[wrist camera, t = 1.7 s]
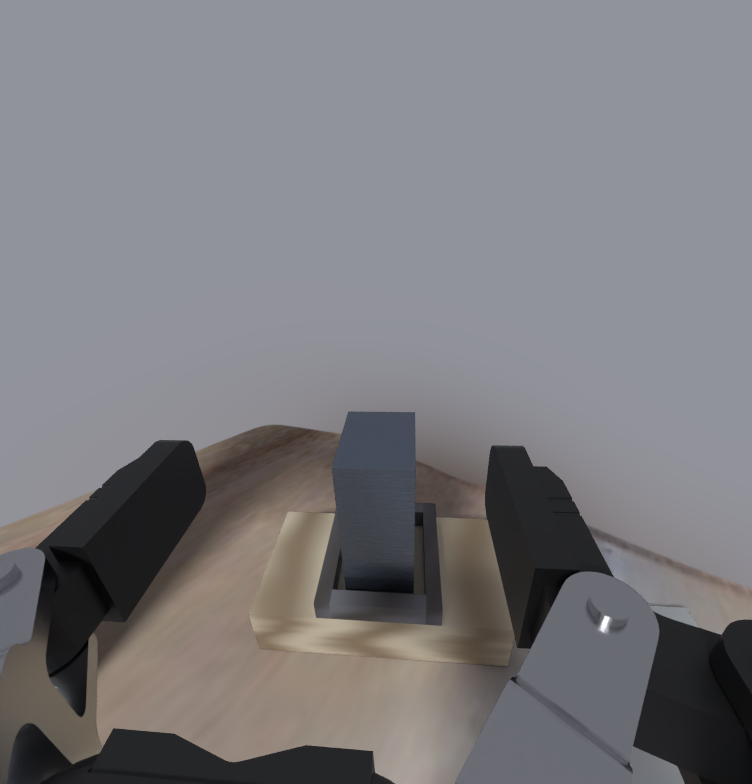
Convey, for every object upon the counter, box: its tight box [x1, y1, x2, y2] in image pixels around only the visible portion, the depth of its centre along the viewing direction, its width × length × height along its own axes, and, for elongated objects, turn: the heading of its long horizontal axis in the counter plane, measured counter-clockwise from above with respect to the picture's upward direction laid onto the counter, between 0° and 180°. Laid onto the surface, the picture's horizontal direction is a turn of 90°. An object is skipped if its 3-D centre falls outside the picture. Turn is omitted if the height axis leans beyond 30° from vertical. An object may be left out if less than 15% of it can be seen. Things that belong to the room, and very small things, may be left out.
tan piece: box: [249, 503, 515, 667], centre depth 29 cm, size 17×9×6 cm, turn 85°
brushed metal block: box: [332, 412, 416, 594], centre depth 26 cm, size 4×6×11 cm
